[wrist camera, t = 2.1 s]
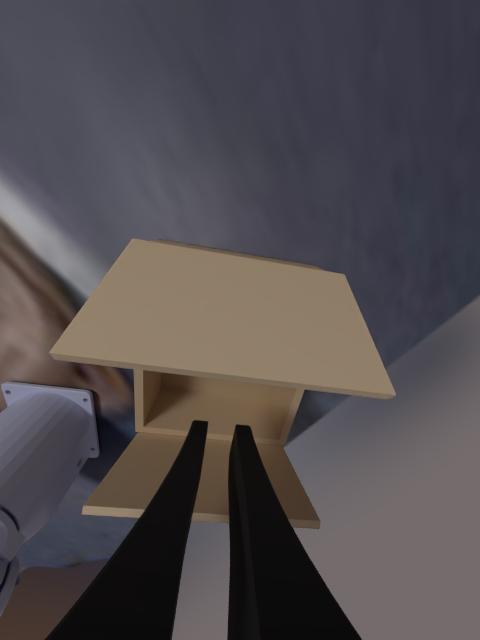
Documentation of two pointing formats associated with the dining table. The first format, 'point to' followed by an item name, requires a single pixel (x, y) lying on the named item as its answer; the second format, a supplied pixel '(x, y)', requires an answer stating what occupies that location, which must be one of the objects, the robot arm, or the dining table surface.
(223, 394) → the carton
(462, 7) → the dining table surface
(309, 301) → the near flap
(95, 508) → the far flap
